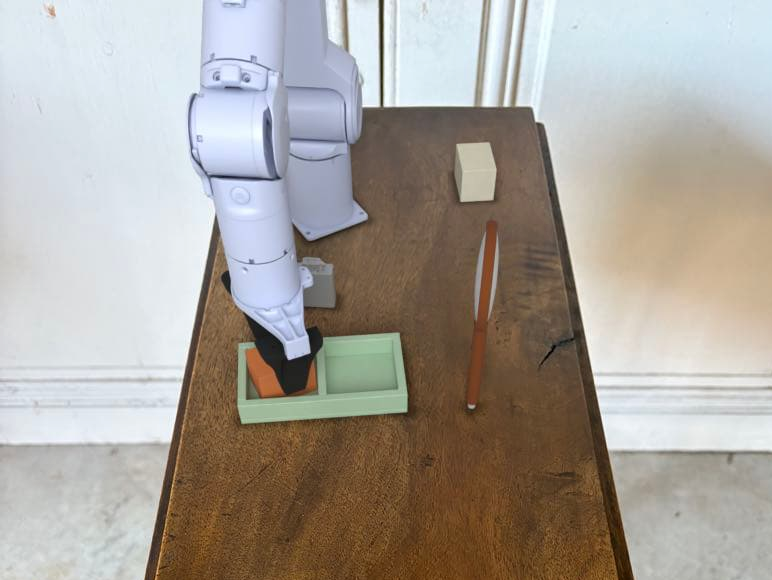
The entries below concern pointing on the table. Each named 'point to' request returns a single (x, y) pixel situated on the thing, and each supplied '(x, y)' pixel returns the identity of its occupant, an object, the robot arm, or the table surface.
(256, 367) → the orange block
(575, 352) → the table surface
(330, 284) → the lighter
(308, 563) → the table surface
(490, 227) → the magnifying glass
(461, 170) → the cream rectangular block
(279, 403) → the tray
